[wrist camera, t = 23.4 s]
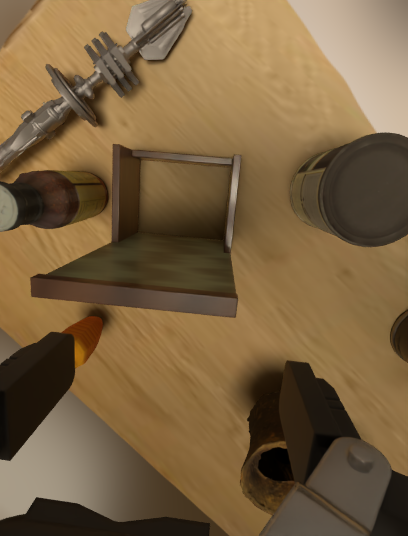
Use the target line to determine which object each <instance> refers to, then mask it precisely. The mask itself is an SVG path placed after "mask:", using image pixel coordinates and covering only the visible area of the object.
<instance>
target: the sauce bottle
mask: <svg viewBox="0 0 408 536" xmlns="http://www.w3.org/2000/svg"><path fill="white" fill-rule="evenodd" d="M107 201H108V196H107V191H106V188H105V185H104V183H103V182H102V181H101V180H100V179H99V178H98V177H96V176H94V175H92V174H90V173H87V172H79V171H53V170H45V171H32V172H29V173H22V174H20V175H19V177H18V178H17V179H16V181H15V182H14V183H12V184H8V183H5V182H1V181H0V232H2V231H8V230H13V229H15V228H17V227H19V226H20V225H28V224H30V225H33V226H36V227H39V228H44V229H55V228H60V227H63V226H66V225H70V224H73V223H76V222H79V221H82V220H85V219H88V218H91V217H94V216H96V215H97V214H99V213H100V212H101V211H102V210H103V208H104V207H105V205H106V203H107Z"/></svg>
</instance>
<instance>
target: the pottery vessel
mask: <svg viewBox="0 0 408 536" xmlns="http://www.w3.org/2000/svg"><path fill="white" fill-rule="evenodd" d="M280 393H281V391H279V392H275V393H271V394H266V395H263V396H262V397H261V398H260V399H259V400H258V401H257V403H256V405H255V406H254V408H253V409H252V410H251V411H250V416H249V417H248V418H247V421H249V433H250V436H251V437H250V448H249V451H248V455H247V457H246V459H245V462H244V464H243V467H242V469H241V480H240V485H241V488H242V490H243V491H242V492H243V494H244V495H245V497H246V498H248V499H249V500H250V501H251V502H252V503H253V504H254V505H255V506H256V507H258V508H259V509H261V510H263V511H264V512H266V513H268V514H271V515H273V514H274V513H275V511H276V510H277V508H278V507H279V506H280V504H281V503H282V501H283V500H284V498H285V497H286V496H287V494H288V493H289V491H290V490H291V488H292V487H293V486H294V484H295V481H294V476H293V472H292V468H291V463H290V459H289V454H288V450H287V446H286V441H285V437H284V432H283V428H282V424H281V419H280V414H279V399H280Z"/></svg>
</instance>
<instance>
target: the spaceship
mask: <svg viewBox="0 0 408 536" xmlns="http://www.w3.org/2000/svg"><path fill="white" fill-rule="evenodd" d="M185 1H186V0H185ZM185 1H183V0H149V1H146V2H143V3H140V4H137V5H135V6H132V9H131V13H130V16H129V20H128V23H127V27H126V31H127V33H128V34H129V36H130V37H131V39H132V40H131V41H130V42H129V43H128V44H127V45H126V46H124V47H123V48H122V47H121V46H120V45H119V46H118V47H116V46H117V45H118V44H117V43H116V44H114V43H113V41H112V40H111V38H110V37H109V36H108V34H107V33H106V32H105V33H104V32H101V33H100V34H99V36H100V37H101V39H102V40H103V41H104V43H105V44H106V45H107V47H108V50H106V49H105V48H104V46H103V45H102V44H101V42H100V41H99V40H98V39H96V38H94V39H93V40H92V43H93V44H94V46H95V47H96V48H97V50H98V51H99V53H100V54H101V56H100V57H99V56H98V55H97V54H96V53H95V52H94V50H93V49H92V48H91V46H89V45H88V44H87V45H86V46H85V47H84V48H85V50H86V51H87V53H88V54H89V56H90V57H91V59H92V60H93V62H94V63H93V64H96V65H95V66H94V69H95V70H96V71H95V72H94V73H93V75H91V76H90V77H88V79H83V78H82V77H81V76H79V75H75V76H74V80H75V83H76V86H74V87H73V86H72V84H71V83H70V82H69V81H68V80H67V79H66V77H65V76H64V75H63V74H62V73H61V72H60V71H59V70H58V69H57V68H53V67H52V66H51V65H50V64H46V69H47V71H48V73H49V74H50V76H51V77H52V80H51V81H52V83H53V84H54V86H55V87H56V89H57V90H58V91H59V93H60V94H61V95H62V97H61V98H59V99H56V100H54V101H53V100H51V101H48V102H47V103H42V104H43V106H42V107H41V108H40V109H38V110H37V111H36V112H35V113H33V112H32V111H31V110H30V111H31V112H32V113H31V112H30V111H26V112H25V113H24V114H22V115H21V116H22V117H21V118H22V120H23V121H24V122H23V123H22V124H21V125H19V127H18V128H17V130H16V131H15V133H14V134H13V135H12V136H11V137H10V138H8V139H7V140H6V141H5V142H4V143H3V144H1V145H0V172H1V171H2V170H3V169H4V168H6V167H7V166H8V165H9V164H10V163H11V161H12V160H13V159H15V158H16V157H18V156H19V155H20V154H22V153H23V152H24V151H25V150H26V149H28V148H29V147H31V146H33V145H35V144H37V143H38V142H40V141H41V140H42V139H44V138H45V137H46V138H47V139H48V140H49V139H51V138H52V137H54V136H55V134H56V133H55V130H54V129H56V128H57V127H58V126H59V125H61V124H64V121H65V120H66V119H67V117H68V113H69V112H70V110H71V109H73V110H74V111H75V112H76V113H77V114H78V115H79V116H80V117H81V118H82V119H83V120H87V121H88V122H89V123H90V124H91V125H92V126H94V127H97V126H98V123H97V121H96V116H95V115H94V113H93V112H92V110H91V109H90V107H89V106H88V105H87V103H86V102H85V101H84V99H83V98H85V97H86V96H87V97H88V98H89V99H94V97H95V94H94V92H93V87H95V85H97V84H98V83H99V82H101V81H102V80H103V81H104V82H105V84H106V83H107V82H108V83H107V84H110V85H111V86H112V88H113V89H114V90H115V91H116V92H117V94H118V95H119V96H120V97H121V98H122V97H123V96H124V95H125V94H124V93H123V91H122V90H121V88H120V87H119V86H118V84H117V83H116V81H115V79H116V78H117V79H118V80H119V82H120V83H121V84H122V85H123V87H125V88H126V90H127V91H128V92H129V91H130V90H131V89H132V88H131V86H130V85H129V83H128V82H127V81H126V79H125V78H124V75H123V73H125V75H126V76H127V77H128V79H129V80H130V81H132V82H133V83H134V84H135V85H137V84H139V81H138V80H137V78H136V77H135V76H134V74H133V73H132V72H131V70H132V68H131V67H130V65H129V63H130V60H129V58H130V57H131V56H132V55H133V54H135V53H136V52H137V51H139V52H140V53H141V55H142V57H143V58H144V59H145V60H155V59H164V58H165V56H166V55H167V53H168V52H169V50H170V49H171V47H172V45H173V44H174V42H175V41H176V39H177V38H178V36H179V34H180V33H181V31H182V30H183V28H184V24H185V22H186V21H187V19H188V17H189V16H190V14H191V13H192V10H191V8H190V6H187V7H185V6H186V5H184V6H183V5H182V4H183V3H184V2H185Z"/></svg>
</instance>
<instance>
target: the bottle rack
mask: <svg viewBox="0 0 408 536" xmlns="http://www.w3.org/2000/svg"><path fill="white" fill-rule="evenodd" d="M140 160H151V161H162V162H174V163H185V164H196V165H208V166H219V167H231V170H230V180H229V190H228V199H227V209H226V218H225V228H224V238H223V240H216V239H205V238H195V237H184V236H174V235H163V234H153V233H142V232H138V220H139V190H140ZM240 164H241V155H234V156H233V159H232V158H222V157H211V156H200V155H188V154H177V153H165V152H154V151H142V150H131V149H129V148H127V147H124V146H122V145H119V144H113V177H112V242H111V243H109V244H107V245H105V246H103V247H101V248H99V249H97V250H95V251H93V252H91V253H89V254H86V255H84V256H82V257H80V258H78V259H76V260H74V261H72V262H70V263H68V264H66V265H64V266H62V267H60V268H58V269H56V270H54V271H52V272H50V273H48V274H46V275H45V274H37V275H35V276H33V277H31V278H30V280H31V296H32V297H38V298H48V299H58V300H67V301H77V302H87V303H97V304H106V305H116V306H126V307H135V308H145V309H155V310H165V311H174V312H184V313H194V314H203V315H213V316H223V317H233V318H236V311H237V303H238V296H237V294H236V289H235V282H234V275H233V268H232V261H231V245H232V236H233V227H234V218H235V209H236V200H237V191H238V182H239V173H240Z"/></svg>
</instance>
